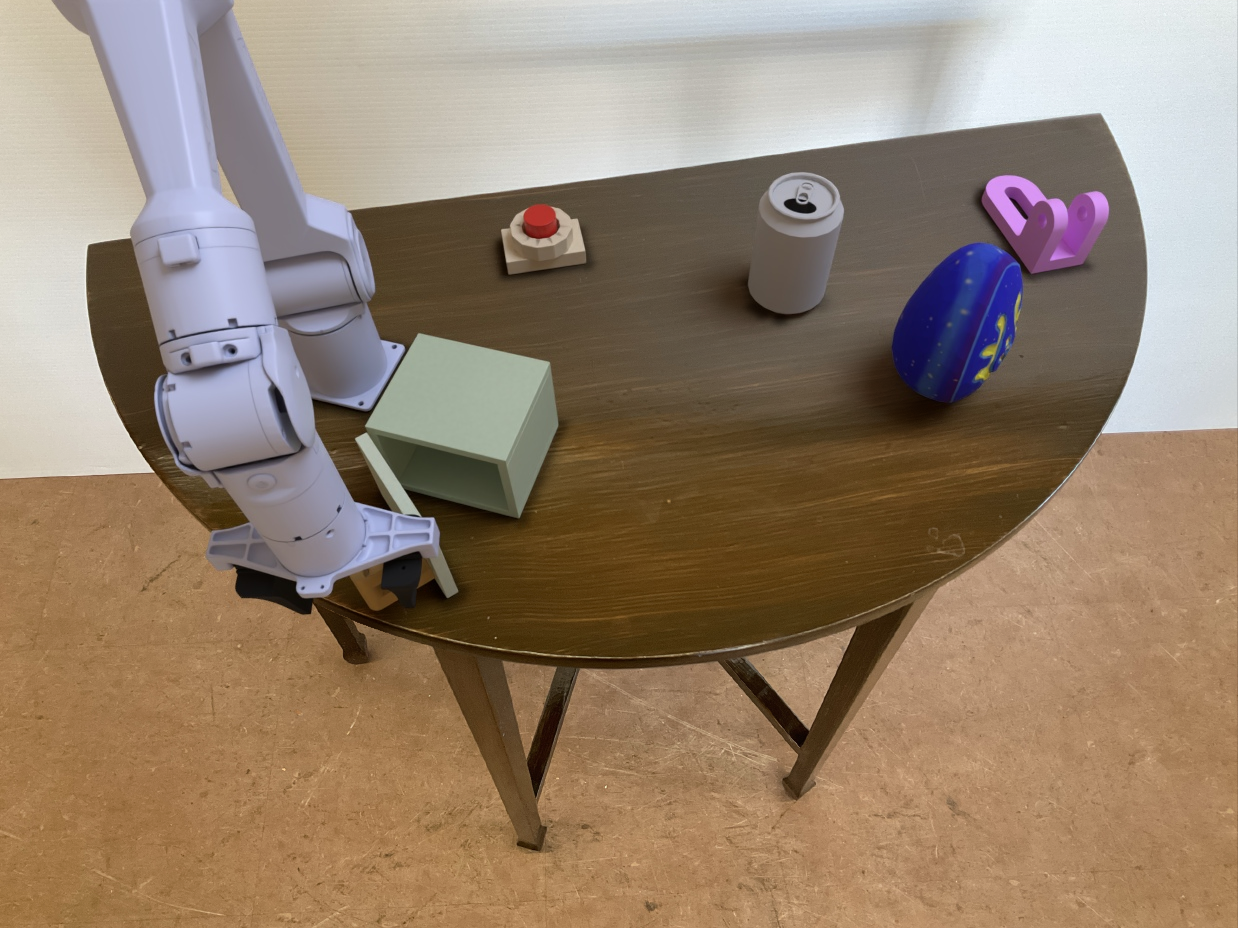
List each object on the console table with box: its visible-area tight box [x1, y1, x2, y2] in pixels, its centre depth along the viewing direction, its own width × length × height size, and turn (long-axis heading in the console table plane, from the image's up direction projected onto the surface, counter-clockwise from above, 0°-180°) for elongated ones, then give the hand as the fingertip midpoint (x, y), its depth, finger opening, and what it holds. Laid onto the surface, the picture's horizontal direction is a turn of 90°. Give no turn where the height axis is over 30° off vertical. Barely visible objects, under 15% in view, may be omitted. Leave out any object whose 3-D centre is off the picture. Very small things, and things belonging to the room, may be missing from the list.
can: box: [747, 171, 845, 315], centre depth 79 cm, size 8×8×12 cm
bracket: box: [981, 174, 1110, 275], centre depth 86 cm, size 13×6×7 cm, turn 13°
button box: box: [500, 206, 587, 276], centre depth 87 cm, size 8×6×4 cm
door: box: [348, 432, 459, 612], centre depth 65 cm, size 6×12×8 cm, turn 35°
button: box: [523, 204, 557, 239], centre depth 85 cm, size 3×3×2 cm
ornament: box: [891, 242, 1024, 404], centre depth 72 cm, size 11×9×15 cm
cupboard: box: [364, 332, 559, 519], centre depth 71 cm, size 10×12×9 cm
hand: (360, 598), depth 63 cm, fingers open, 7 cm apart
